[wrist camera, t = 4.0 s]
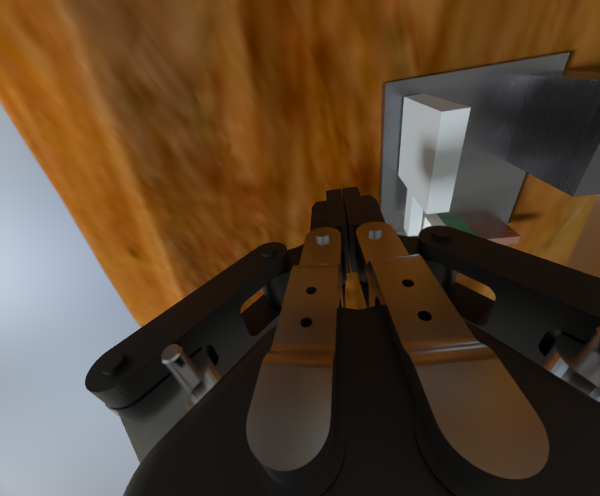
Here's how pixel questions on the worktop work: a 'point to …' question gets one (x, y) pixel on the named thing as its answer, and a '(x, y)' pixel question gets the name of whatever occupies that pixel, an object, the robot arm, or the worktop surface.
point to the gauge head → (430, 155)
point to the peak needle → (431, 220)
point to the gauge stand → (502, 139)
